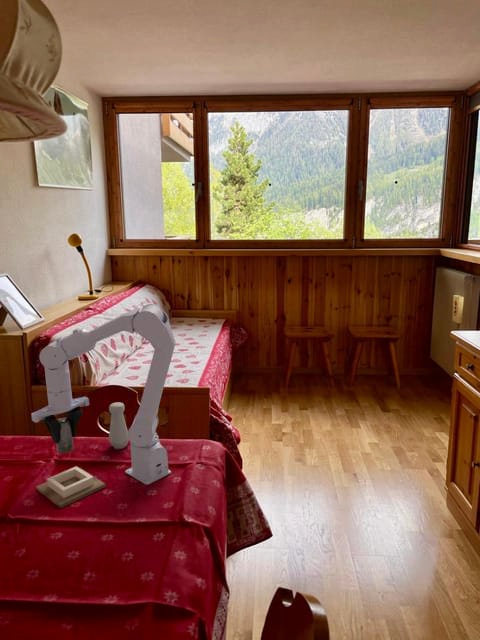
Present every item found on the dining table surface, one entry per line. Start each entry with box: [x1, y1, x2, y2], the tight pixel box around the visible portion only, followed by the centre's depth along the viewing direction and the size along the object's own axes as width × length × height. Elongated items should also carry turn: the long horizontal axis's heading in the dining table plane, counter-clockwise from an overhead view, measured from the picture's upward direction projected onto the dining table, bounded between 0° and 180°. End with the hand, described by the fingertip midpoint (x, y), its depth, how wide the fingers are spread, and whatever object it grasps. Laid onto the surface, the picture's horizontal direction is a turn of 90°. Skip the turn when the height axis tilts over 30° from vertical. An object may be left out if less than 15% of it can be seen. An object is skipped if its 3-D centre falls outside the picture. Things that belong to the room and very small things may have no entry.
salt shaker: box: [108, 401, 130, 450], centre depth 145 cm, size 6×6×13 cm
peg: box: [56, 417, 74, 454], centre depth 129 cm, size 4×4×8 cm
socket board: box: [36, 465, 106, 509], centre depth 124 cm, size 12×12×3 cm
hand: (64, 439), depth 129 cm, fingers closed on peg, 4 cm apart
